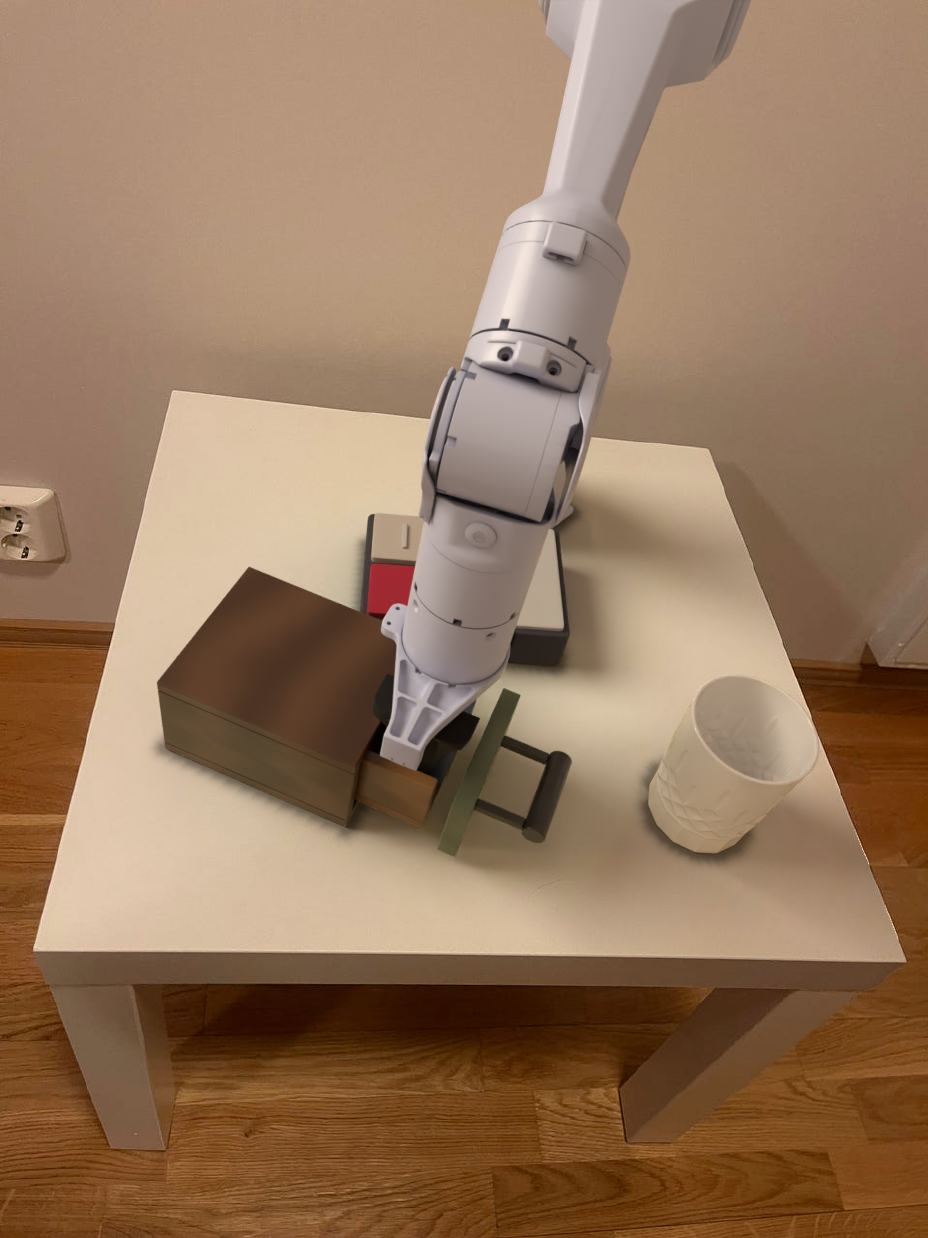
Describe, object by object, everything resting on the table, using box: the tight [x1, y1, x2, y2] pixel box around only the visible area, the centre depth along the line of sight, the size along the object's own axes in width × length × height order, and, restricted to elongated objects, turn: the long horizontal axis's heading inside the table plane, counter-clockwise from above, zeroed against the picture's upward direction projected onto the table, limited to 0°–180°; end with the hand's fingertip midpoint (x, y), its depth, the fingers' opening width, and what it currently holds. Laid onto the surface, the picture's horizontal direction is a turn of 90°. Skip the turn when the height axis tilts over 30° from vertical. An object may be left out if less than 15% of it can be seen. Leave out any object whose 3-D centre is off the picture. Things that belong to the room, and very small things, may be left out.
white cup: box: [647, 673, 820, 854], centre depth 58 cm, size 8×8×10 cm
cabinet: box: [156, 566, 397, 828], centre depth 58 cm, size 13×11×7 cm
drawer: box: [354, 687, 573, 858], centre depth 57 cm, size 16×9×5 cm, turn 69°
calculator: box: [359, 512, 571, 666], centre depth 68 cm, size 11×4×15 cm
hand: (429, 734), depth 56 cm, fingers closed on block, 4 cm apart
